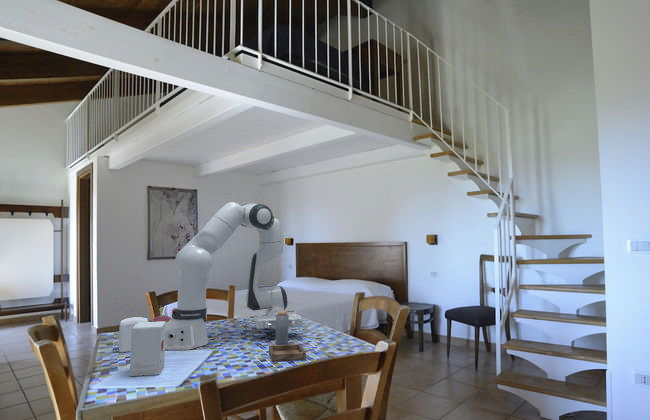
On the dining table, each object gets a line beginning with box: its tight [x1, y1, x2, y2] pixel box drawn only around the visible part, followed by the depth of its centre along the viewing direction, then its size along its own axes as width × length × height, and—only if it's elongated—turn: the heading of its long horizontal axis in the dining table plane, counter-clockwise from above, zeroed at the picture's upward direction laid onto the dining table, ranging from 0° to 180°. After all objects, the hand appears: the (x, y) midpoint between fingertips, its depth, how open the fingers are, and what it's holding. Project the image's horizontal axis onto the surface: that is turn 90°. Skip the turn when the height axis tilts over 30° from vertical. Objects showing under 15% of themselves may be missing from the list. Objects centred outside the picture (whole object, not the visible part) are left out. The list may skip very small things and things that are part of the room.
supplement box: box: [129, 321, 166, 377], centre depth 129 cm, size 9×9×15 cm
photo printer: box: [118, 316, 149, 353], centre depth 152 cm, size 10×4×12 cm, turn 112°
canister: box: [275, 309, 289, 345], centre depth 162 cm, size 5×5×14 cm
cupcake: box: [151, 304, 172, 323], centre depth 183 cm, size 9×8×12 cm
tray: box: [268, 343, 307, 363], centre depth 147 cm, size 12×12×2 cm
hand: (281, 325), depth 165 cm, fingers open, 8 cm apart
